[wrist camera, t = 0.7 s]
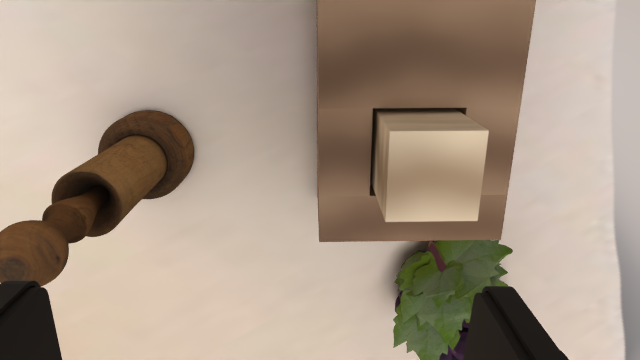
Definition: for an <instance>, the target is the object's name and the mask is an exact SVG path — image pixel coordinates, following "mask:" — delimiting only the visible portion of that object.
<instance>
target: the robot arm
mask: <svg viewBox="0 0 640 360" xmlns="http://www.w3.org/2000/svg"><path fill="white" fill-rule="evenodd" d="M0 360H62V357H61V352H60V347H59V343H58V338H57V333H56V328H55V324H54V319H53V314H52V309H51V305H50V300H49V295H48V292H47V290H46V289H45V288H42V287H40V284H39V283H38V282H36V281H27V280H8V281H4V282H3V283H1V284H0ZM463 360H569V359H568V358H567V357H566V355H565V354H564V353H563V352H562V351H560V350H559V349H558V347H557V346H556V345H555V343H554V342H553V341H552V339H551V338H550V336H549V335H548V334H547V332H546V331H545V330H544V328H543V327H542V326H541V324H540V323H539V322H538V320H537V319H536V317H535V316H534V315H533V313H532V312H531V311H530V309H529V308H528V307H527V305H526V304H525V302H524V301H523V300H522V298H521V297H520V296H519V294H518V293H517V292H516V290H515V289H514V288H513V287H510V286H485V287H484V288H483V290H482V293H476V294H475V296H474V300H473V306H472V311H471V317H470V323H469V329H468V335H467V341H466V346H465V352H464V358H463Z"/></svg>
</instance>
